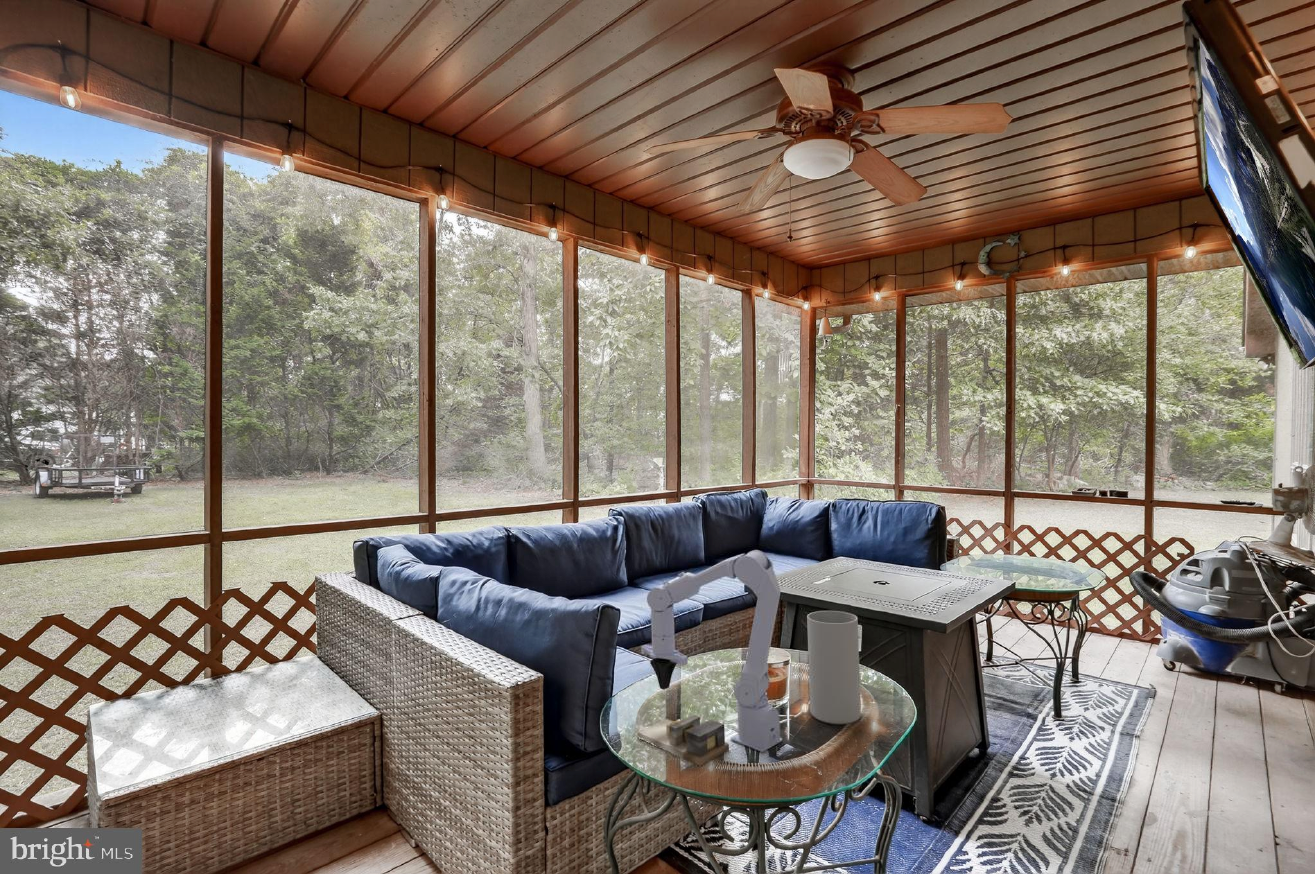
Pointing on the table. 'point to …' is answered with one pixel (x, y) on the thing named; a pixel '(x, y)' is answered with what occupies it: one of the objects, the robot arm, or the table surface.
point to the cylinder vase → (834, 666)
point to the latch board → (688, 739)
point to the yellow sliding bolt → (710, 741)
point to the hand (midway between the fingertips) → (664, 687)
